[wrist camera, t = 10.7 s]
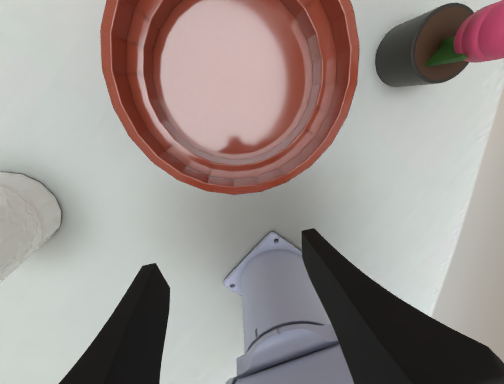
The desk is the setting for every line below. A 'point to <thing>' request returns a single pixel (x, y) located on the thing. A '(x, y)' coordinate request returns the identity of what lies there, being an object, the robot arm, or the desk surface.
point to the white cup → (24, 219)
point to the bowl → (231, 85)
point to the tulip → (440, 44)
